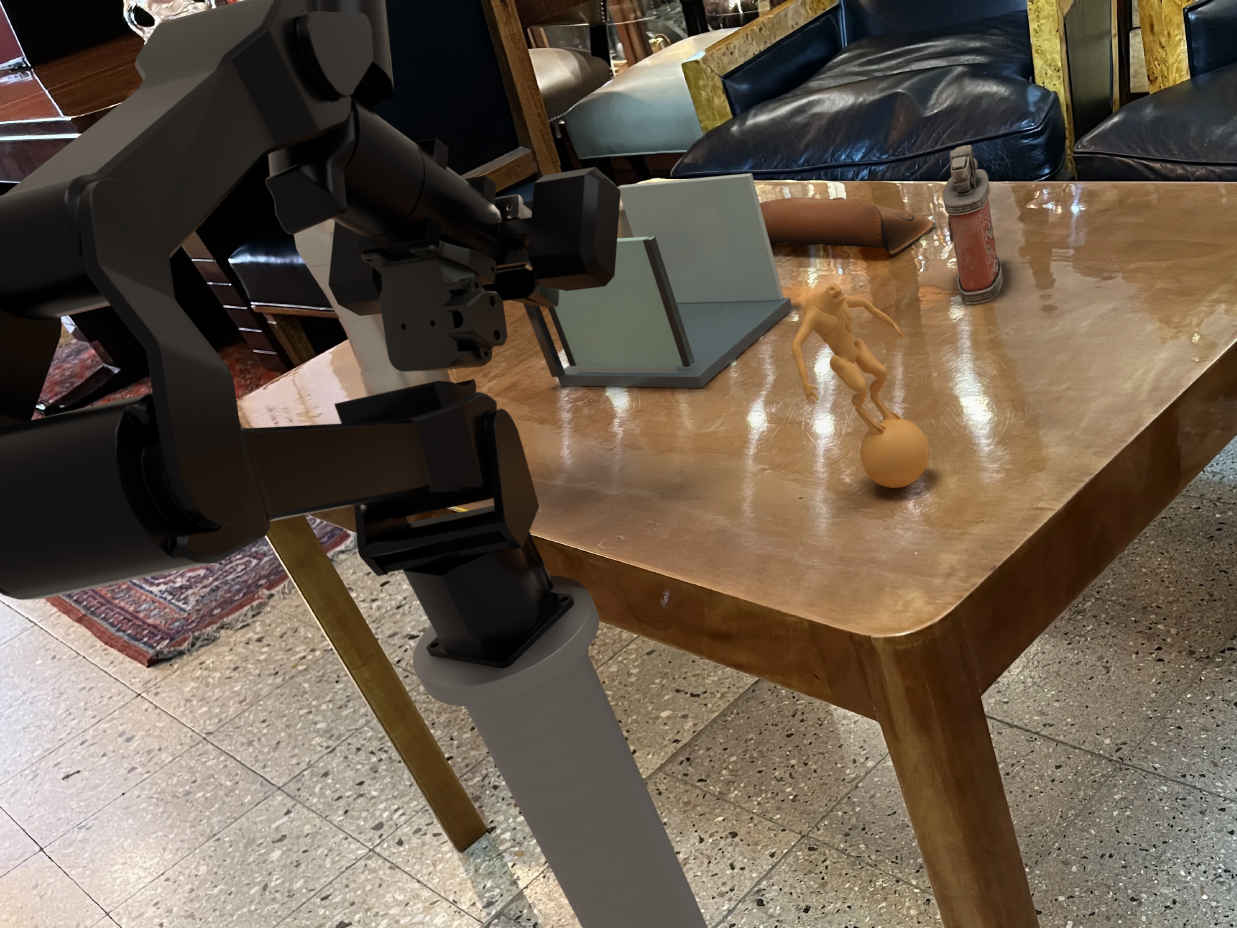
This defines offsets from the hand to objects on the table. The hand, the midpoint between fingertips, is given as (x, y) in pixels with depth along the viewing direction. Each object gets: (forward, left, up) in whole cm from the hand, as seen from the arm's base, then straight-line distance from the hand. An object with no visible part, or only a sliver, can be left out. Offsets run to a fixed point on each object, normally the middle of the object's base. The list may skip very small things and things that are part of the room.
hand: (554, 299), depth 77 cm
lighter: (+27, -17, -11) cm, 33 cm away
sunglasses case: (+37, +2, -11) cm, 39 cm away
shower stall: (+16, +5, -11) cm, 19 cm away
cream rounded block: (+29, +19, -11) cm, 36 cm away
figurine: (-2, -23, -11) cm, 26 cm away
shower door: (+10, +4, -9) cm, 14 cm away
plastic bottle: (+4, +23, -11) cm, 25 cm away
